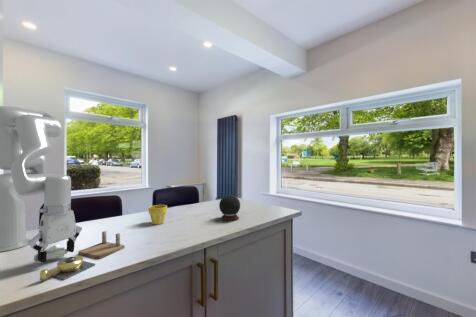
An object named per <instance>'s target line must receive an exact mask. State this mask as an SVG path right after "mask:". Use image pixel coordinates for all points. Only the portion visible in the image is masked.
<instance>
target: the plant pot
mask: <svg viewBox="0 0 476 317" xmlns="http://www.w3.org/2000/svg"><path fill="white" fill-rule="evenodd" d="M167 212H168V205H166V204H156V205H150V206H148V214H149V216H150V220H151V223H152V225H154V226H155V225H157V226H158V225H163V224H164V223H165V221H166V219H165V218H166V214H167Z"/></svg>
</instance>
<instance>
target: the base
mask: <svg viewBox="0 0 476 317" xmlns="http://www.w3.org/2000/svg"><path fill="white" fill-rule="evenodd" d="M95 266H96V263H93V262H90V261H84V260H83V266H82V267H80V268H79V269H77V270H74V271H70V272H65V273H60V272H59V273H57V274H54V275H52V276H51V277H52V278H56V279H58V280H62V281H65V280H67V279H70V278H71V277H73V276H77V275H78V274H80V273H82V272H84V271H86V270H88V269H90V268H92V267H95Z"/></svg>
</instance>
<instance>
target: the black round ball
mask: <svg viewBox="0 0 476 317" xmlns="http://www.w3.org/2000/svg"><path fill="white" fill-rule="evenodd" d="M218 206H219V211H220V212H221V214H222V215H221V217H220V220H221V221H222V222H223V221H224V222H235V221H239V220H240V219H239V218H240V217H239V215H237V214H238V213H239V212H240V209H241V201H240V200H239V198H238V197H237V196H236V195H234V194H226V195H225V196H223V197H221V199H220V201H219V205H218Z"/></svg>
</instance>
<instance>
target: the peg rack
mask: <svg viewBox="0 0 476 317" xmlns="http://www.w3.org/2000/svg"><path fill="white" fill-rule="evenodd" d="M101 235H102V236H101V242H100V243H96V244H94V245H91V246H89V247H85V248H83V249H81V250H79V251H78V252H77V253H78V254H77V255H78V256H82V257H90V258H92V259H93V258H94V259H97V260H101V259H103V258H106V257H108V256H110V255H112V254H115V253H117V252H118V251H121V250H123V249H125V246H126V245H125V244H122V243H121V233H115V243H114V242H109V241H107V231H106V230H104V231H102V232H101Z"/></svg>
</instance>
